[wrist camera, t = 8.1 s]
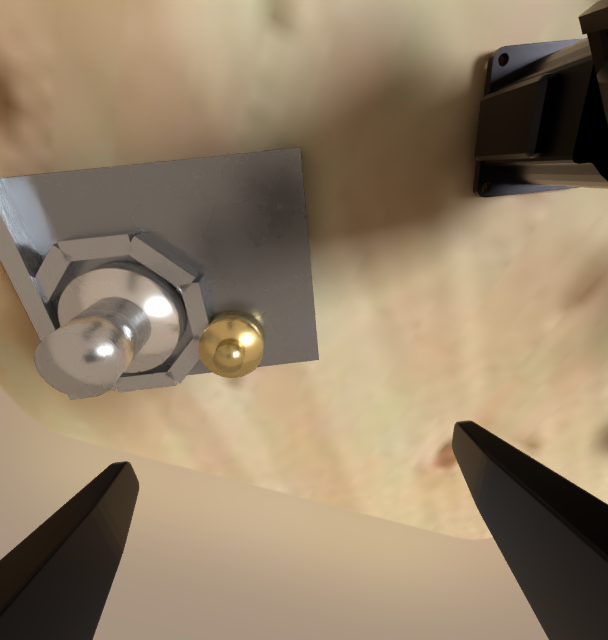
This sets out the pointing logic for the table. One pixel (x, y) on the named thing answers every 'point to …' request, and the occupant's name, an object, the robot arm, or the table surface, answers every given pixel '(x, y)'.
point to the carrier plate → (176, 253)
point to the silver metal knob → (110, 329)
